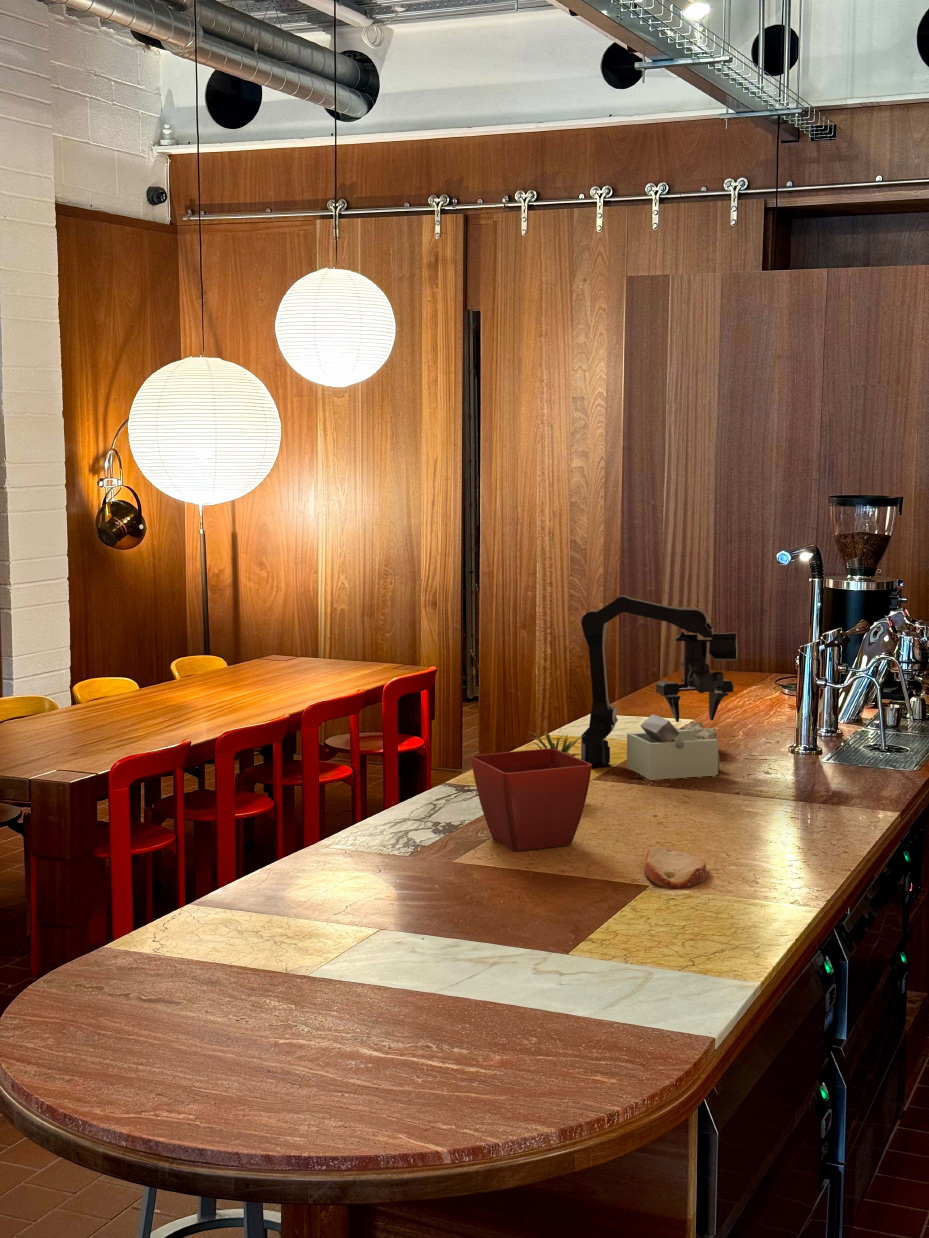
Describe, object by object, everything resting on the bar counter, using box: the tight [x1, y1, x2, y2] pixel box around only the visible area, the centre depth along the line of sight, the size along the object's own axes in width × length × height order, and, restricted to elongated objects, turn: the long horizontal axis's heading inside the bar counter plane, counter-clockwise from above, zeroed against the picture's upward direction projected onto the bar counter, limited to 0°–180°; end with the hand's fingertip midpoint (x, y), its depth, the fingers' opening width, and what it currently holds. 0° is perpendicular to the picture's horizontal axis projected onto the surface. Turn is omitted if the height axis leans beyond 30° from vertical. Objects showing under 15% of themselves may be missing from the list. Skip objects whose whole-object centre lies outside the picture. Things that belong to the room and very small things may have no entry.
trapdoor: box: [639, 713, 679, 743], centre depth 335 cm, size 16×12×4 cm
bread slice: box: [643, 846, 708, 890], centre depth 252 cm, size 18×18×4 cm
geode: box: [674, 721, 717, 740], centre depth 358 cm, size 17×9×15 cm
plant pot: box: [470, 747, 593, 852], centre depth 273 cm, size 19×19×17 cm
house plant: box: [529, 728, 585, 757], centre depth 310 cm, size 14×14×16 cm
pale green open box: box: [626, 729, 719, 781], centre depth 335 cm, size 18×16×9 cm
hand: (694, 721), depth 337 cm, fingers open, 9 cm apart
